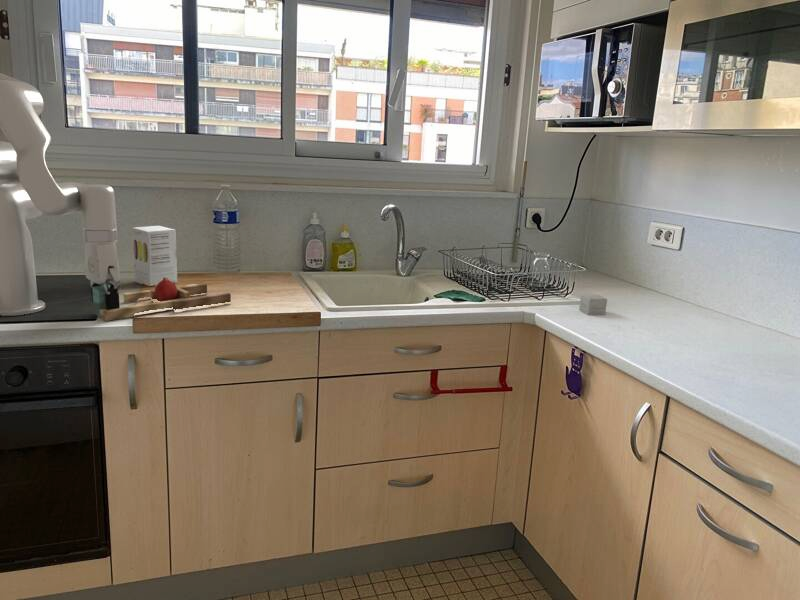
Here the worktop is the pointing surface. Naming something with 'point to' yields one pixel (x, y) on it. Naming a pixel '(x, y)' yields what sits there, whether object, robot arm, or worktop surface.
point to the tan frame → (130, 310)
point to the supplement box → (154, 254)
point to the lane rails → (199, 300)
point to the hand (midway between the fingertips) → (105, 305)
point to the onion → (166, 290)
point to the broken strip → (141, 295)
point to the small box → (593, 304)
